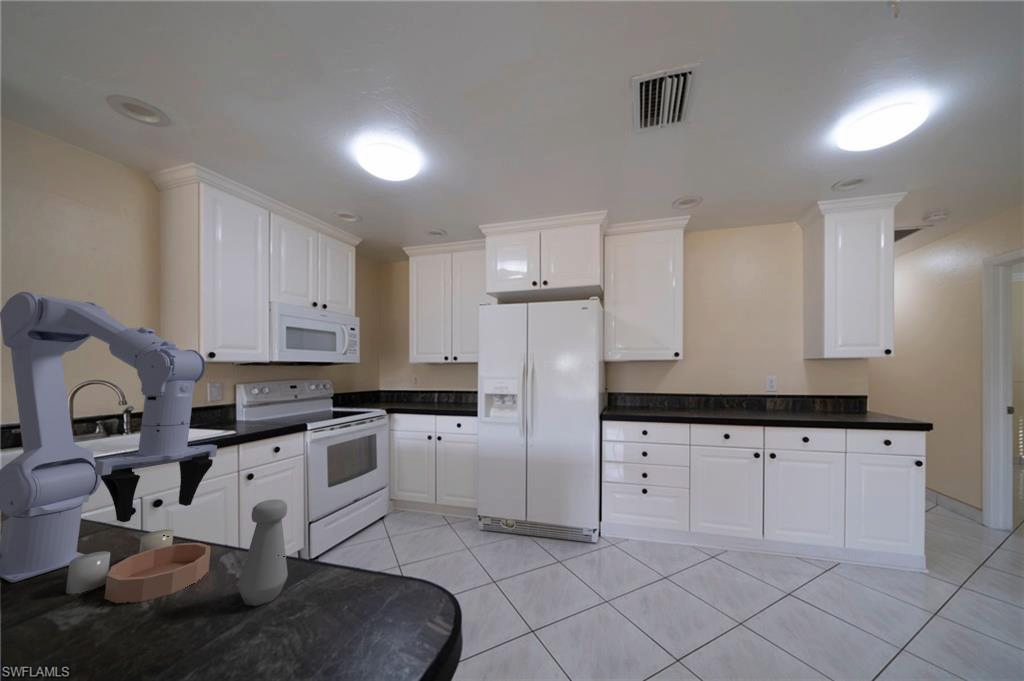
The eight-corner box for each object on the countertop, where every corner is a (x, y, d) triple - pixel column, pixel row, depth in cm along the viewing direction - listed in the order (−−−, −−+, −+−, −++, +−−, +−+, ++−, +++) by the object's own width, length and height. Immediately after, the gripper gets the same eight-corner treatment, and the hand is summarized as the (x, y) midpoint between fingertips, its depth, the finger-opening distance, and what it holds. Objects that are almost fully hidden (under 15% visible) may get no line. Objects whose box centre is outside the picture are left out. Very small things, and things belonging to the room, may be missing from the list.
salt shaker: (261, 613, 49) (270, 510, 50) (225, 606, 50) (235, 507, 51) (295, 588, 55) (302, 497, 56) (262, 583, 56) (270, 494, 57)
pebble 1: (59, 590, 53) (63, 561, 53) (98, 576, 57) (102, 549, 57) (73, 597, 52) (77, 566, 52) (112, 582, 55) (116, 554, 56)
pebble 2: (132, 561, 61) (135, 536, 62) (162, 551, 65) (165, 527, 66) (146, 566, 60) (149, 540, 60) (176, 555, 64) (178, 531, 64)
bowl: (89, 591, 53) (91, 569, 53) (181, 556, 63) (183, 538, 64) (133, 610, 49) (136, 586, 49) (224, 570, 59) (226, 550, 60)
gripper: (118, 431, 51) (105, 534, 50) (230, 421, 65) (222, 501, 63) (92, 427, 54) (79, 525, 52) (205, 418, 67) (197, 495, 66)
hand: (155, 512), depth 58 cm, fingers open, 7 cm apart
